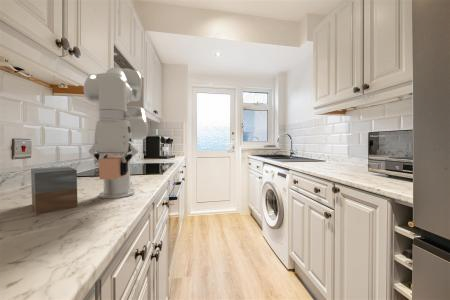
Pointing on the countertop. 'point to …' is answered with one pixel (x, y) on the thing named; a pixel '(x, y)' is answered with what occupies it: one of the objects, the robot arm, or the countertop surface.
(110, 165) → the terracotta brick
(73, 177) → the shiny metal block
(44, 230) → the countertop surface
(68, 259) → the countertop surface
